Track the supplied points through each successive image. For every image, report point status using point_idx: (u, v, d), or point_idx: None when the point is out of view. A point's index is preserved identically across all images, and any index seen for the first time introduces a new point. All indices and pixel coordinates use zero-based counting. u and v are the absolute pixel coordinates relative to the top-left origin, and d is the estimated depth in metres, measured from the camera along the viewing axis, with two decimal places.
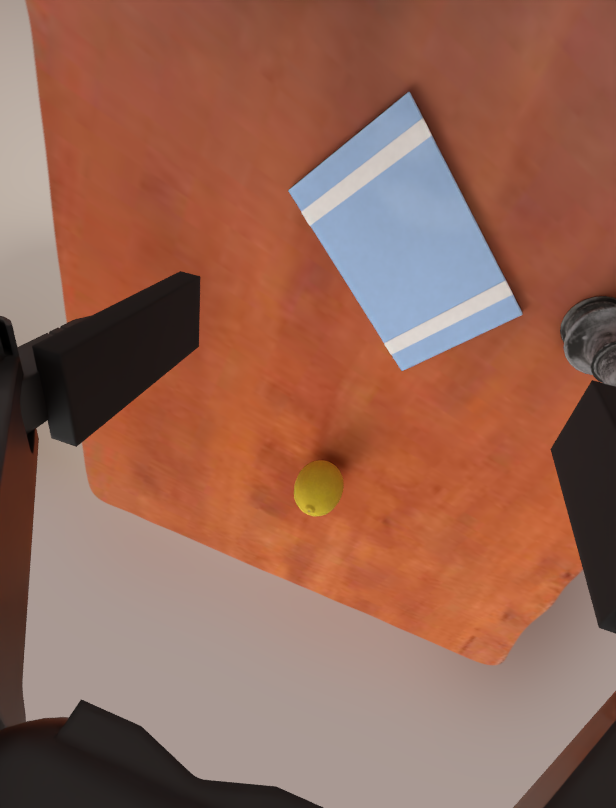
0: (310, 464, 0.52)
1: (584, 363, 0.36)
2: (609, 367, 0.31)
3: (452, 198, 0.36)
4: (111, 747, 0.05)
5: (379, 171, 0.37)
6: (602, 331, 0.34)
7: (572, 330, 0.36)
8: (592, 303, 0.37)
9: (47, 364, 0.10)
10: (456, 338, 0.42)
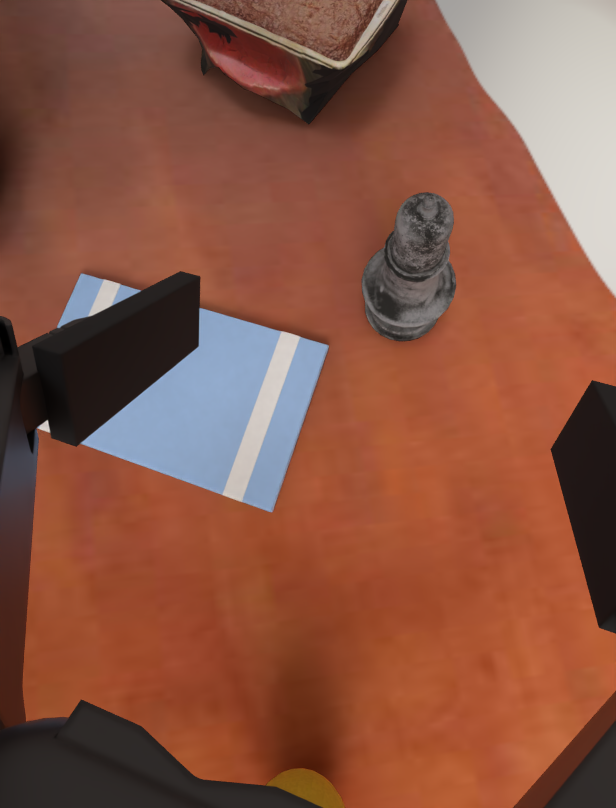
0: None
1: (413, 311, 0.27)
2: (395, 235, 0.22)
3: None
4: (111, 747, 0.05)
5: None
6: (385, 266, 0.27)
7: (367, 297, 0.28)
8: None
9: (47, 364, 0.10)
10: (291, 421, 0.30)
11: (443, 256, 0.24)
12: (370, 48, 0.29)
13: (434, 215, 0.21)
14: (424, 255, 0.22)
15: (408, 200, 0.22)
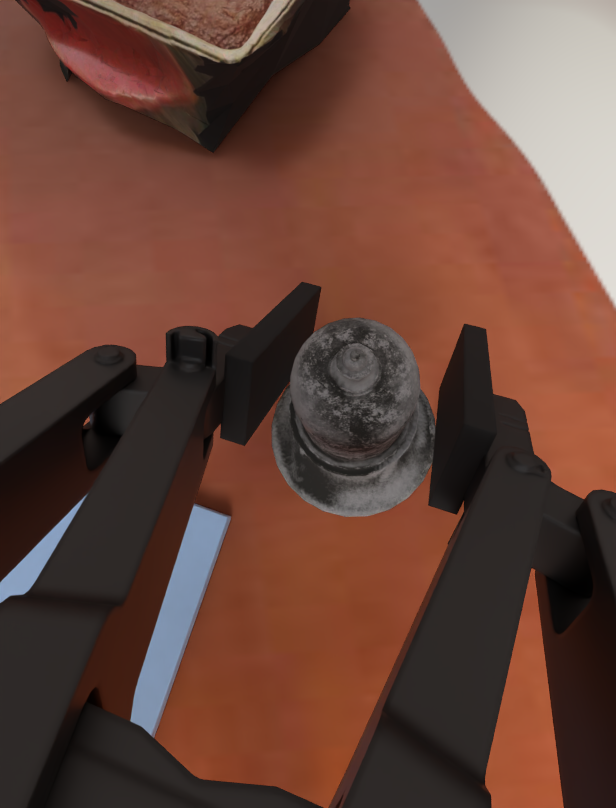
0: None
1: (359, 491, 0.15)
2: None
3: None
4: (111, 747, 0.05)
5: None
6: None
7: (280, 459, 0.16)
8: None
9: (236, 371, 0.11)
10: (160, 656, 0.18)
11: (405, 425, 0.12)
12: (284, 28, 0.17)
13: (370, 387, 0.09)
14: (358, 452, 0.10)
15: (314, 339, 0.09)
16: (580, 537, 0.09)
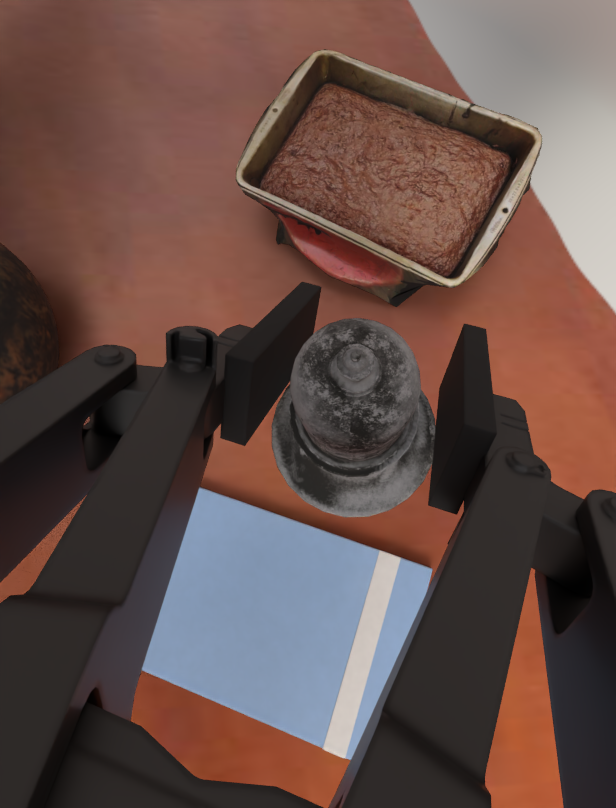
0: None
1: (359, 492, 0.15)
2: (295, 406, 0.10)
3: (259, 519, 0.30)
4: (111, 747, 0.05)
5: None
6: None
7: (280, 459, 0.16)
8: None
9: (236, 371, 0.11)
10: None
11: (406, 426, 0.12)
12: (483, 264, 0.27)
13: (371, 387, 0.09)
14: (358, 453, 0.10)
15: (314, 340, 0.09)
16: (580, 537, 0.09)
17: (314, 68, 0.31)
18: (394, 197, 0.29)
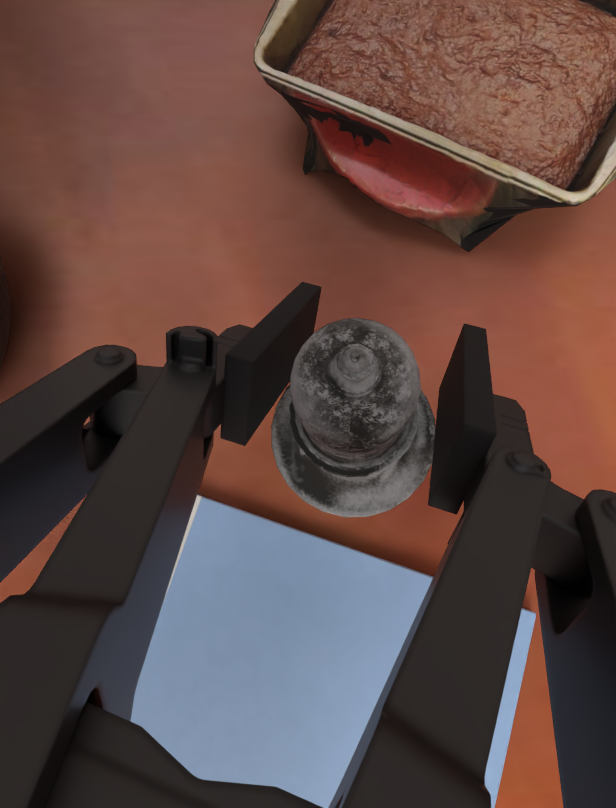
0: None
1: (359, 492, 0.15)
2: None
3: (287, 542, 0.22)
4: (111, 747, 0.05)
5: None
6: None
7: (280, 459, 0.16)
8: None
9: (237, 371, 0.11)
10: None
11: (406, 426, 0.12)
12: None
13: (370, 387, 0.09)
14: (358, 453, 0.10)
15: (314, 340, 0.09)
16: (580, 537, 0.09)
17: None
18: (480, 85, 0.20)
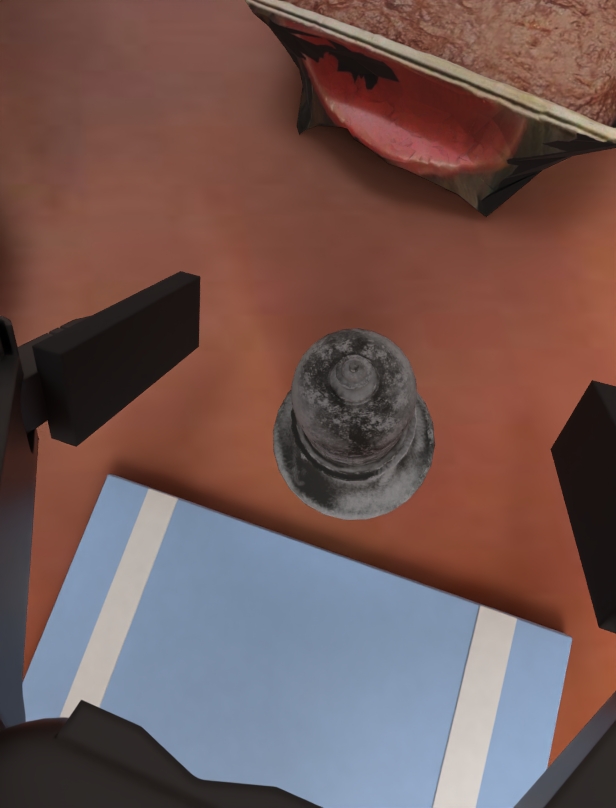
0: None
1: (359, 495, 0.15)
2: (296, 413, 0.11)
3: (277, 552, 0.18)
4: (111, 747, 0.05)
5: (133, 604, 0.18)
6: None
7: (282, 463, 0.16)
8: None
9: (47, 364, 0.10)
10: None
11: (404, 431, 0.12)
12: None
13: (368, 396, 0.09)
14: (357, 459, 0.10)
15: (315, 350, 0.10)
16: None
17: None
18: (503, 12, 0.17)
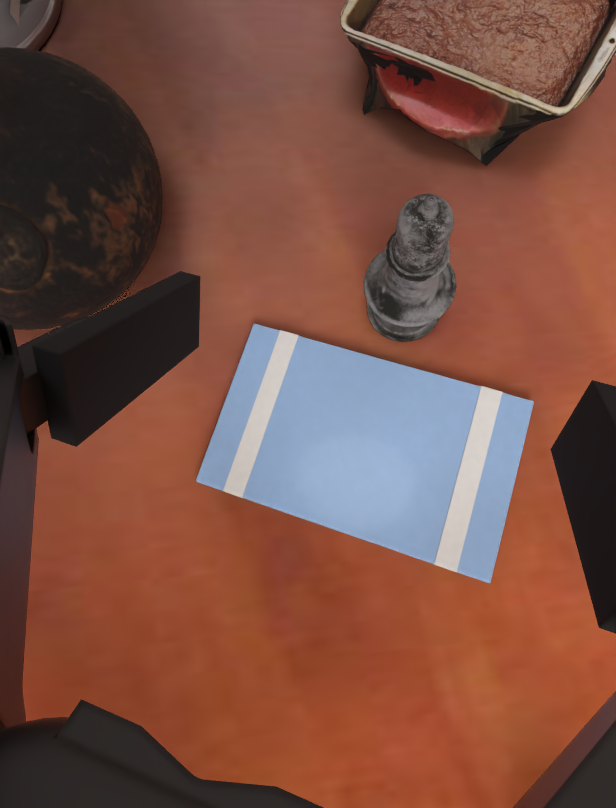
0: None
1: (414, 311, 0.28)
2: (397, 236, 0.23)
3: (361, 362, 0.31)
4: (111, 747, 0.05)
5: (275, 393, 0.31)
6: (386, 267, 0.28)
7: (369, 298, 0.29)
8: None
9: (47, 364, 0.10)
10: (502, 483, 0.29)
11: (444, 256, 0.25)
12: (591, 93, 0.27)
13: (435, 215, 0.21)
14: (426, 254, 0.23)
15: (409, 201, 0.22)
16: None
17: None
18: (496, 40, 0.30)
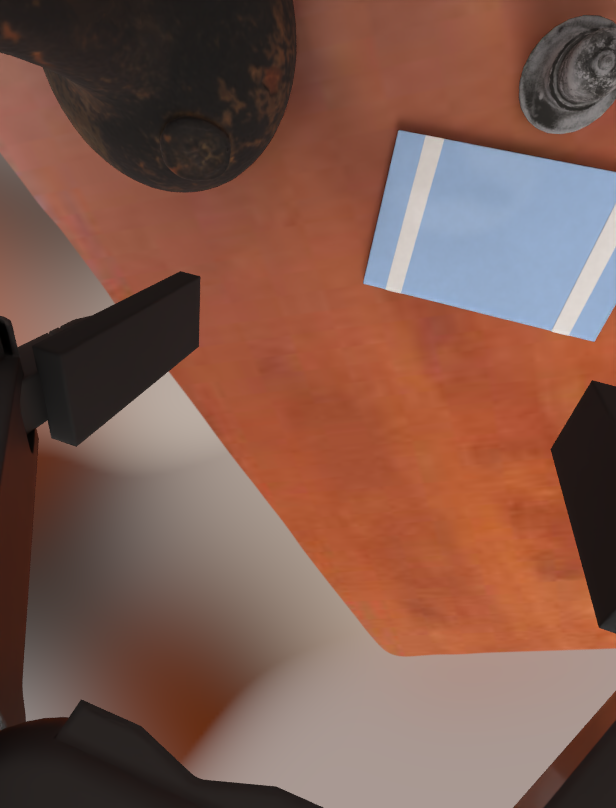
0: None
1: (572, 117, 0.28)
2: (564, 80, 0.23)
3: (507, 162, 0.33)
4: (111, 747, 0.05)
5: (423, 204, 0.36)
6: (548, 70, 0.26)
7: (524, 104, 0.28)
8: None
9: (47, 364, 0.10)
10: None
11: None
12: None
13: (609, 70, 0.21)
14: None
15: (584, 47, 0.21)
16: None
17: None
18: None
